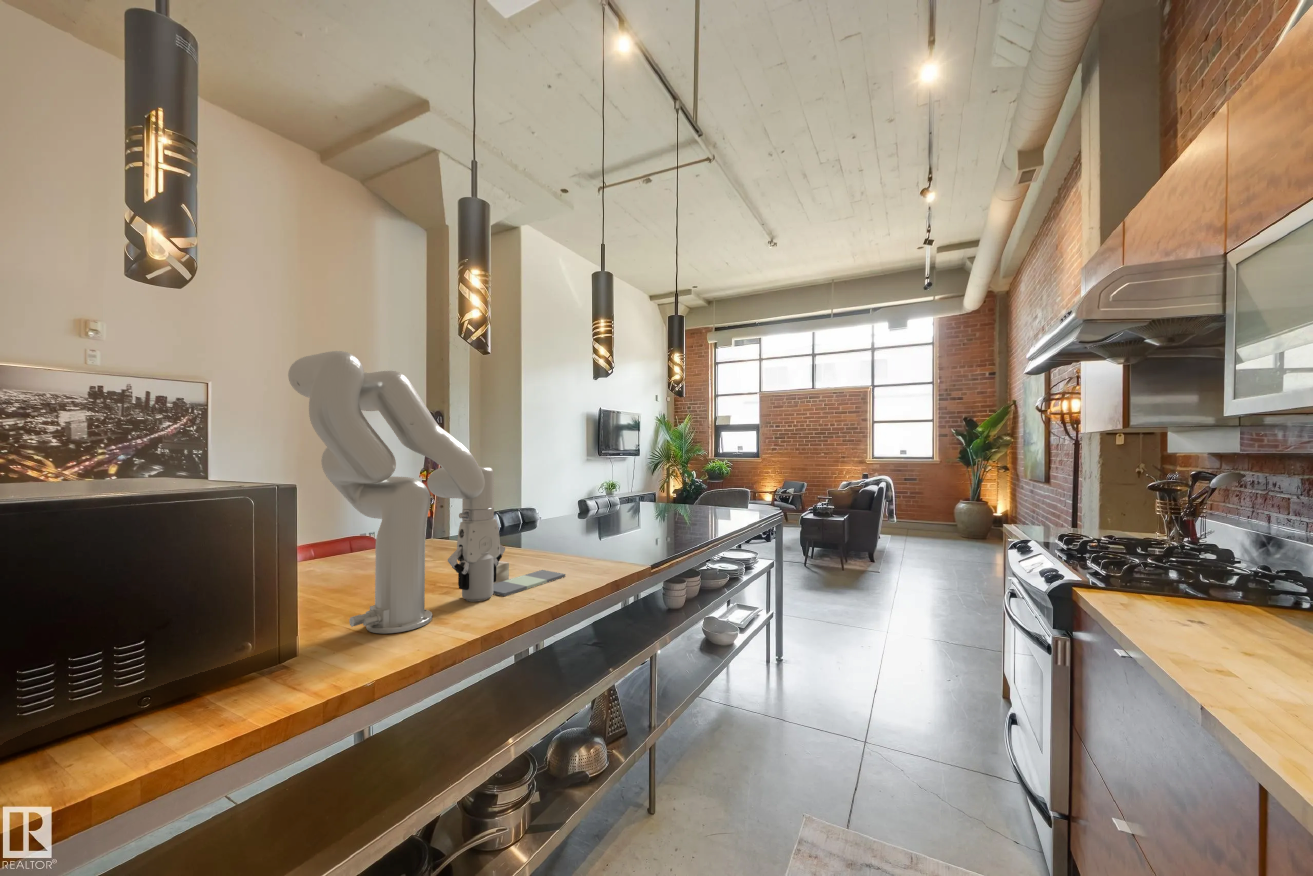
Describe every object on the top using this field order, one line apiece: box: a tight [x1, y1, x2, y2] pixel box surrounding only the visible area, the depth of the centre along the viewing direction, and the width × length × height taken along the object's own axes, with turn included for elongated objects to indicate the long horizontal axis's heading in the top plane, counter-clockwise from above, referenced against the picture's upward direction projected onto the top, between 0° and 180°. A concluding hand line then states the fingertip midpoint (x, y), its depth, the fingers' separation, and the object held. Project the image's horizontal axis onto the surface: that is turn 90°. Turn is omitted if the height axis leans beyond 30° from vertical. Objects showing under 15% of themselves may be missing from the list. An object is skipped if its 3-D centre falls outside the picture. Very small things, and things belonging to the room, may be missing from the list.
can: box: [461, 552, 494, 603], centre depth 122 cm, size 8×8×12 cm
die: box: [493, 560, 510, 584], centre depth 138 cm, size 5×5×5 cm
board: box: [493, 569, 566, 597], centre depth 135 cm, size 22×10×1 cm, turn 148°
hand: (477, 584), depth 122 cm, fingers closed on can, 7 cm apart
